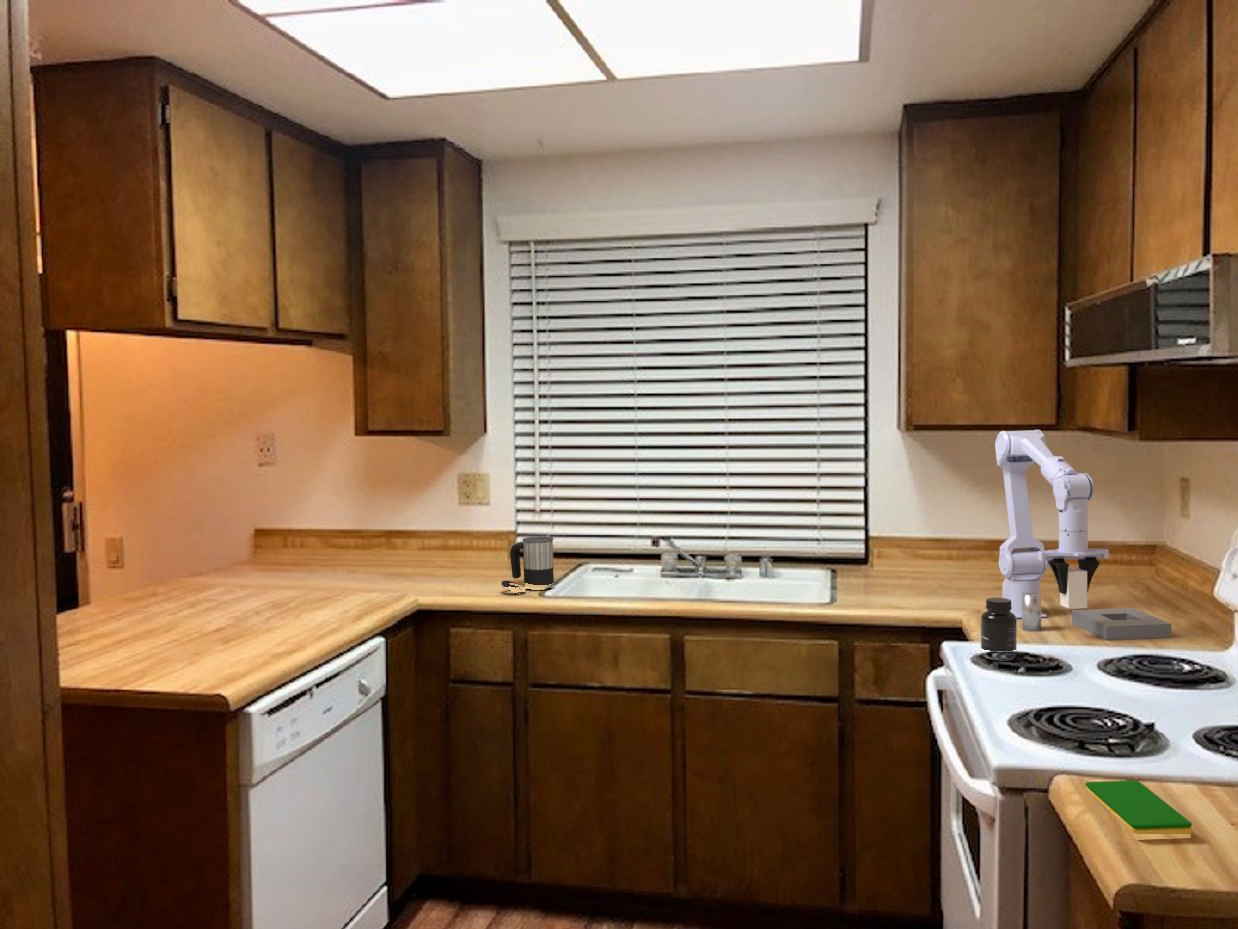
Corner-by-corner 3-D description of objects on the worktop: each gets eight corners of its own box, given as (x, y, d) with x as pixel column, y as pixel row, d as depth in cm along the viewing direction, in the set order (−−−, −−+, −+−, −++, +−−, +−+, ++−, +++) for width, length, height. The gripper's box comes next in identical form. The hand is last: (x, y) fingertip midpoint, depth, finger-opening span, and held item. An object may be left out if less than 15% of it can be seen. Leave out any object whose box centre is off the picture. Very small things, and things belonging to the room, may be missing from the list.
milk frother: (558, 585, 303) (556, 535, 302) (546, 596, 288) (544, 544, 286) (512, 585, 305) (510, 536, 304) (498, 596, 290) (495, 544, 289)
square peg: (1060, 604, 222) (1060, 568, 221) (1078, 604, 222) (1078, 567, 221) (1068, 608, 218) (1068, 571, 217) (1087, 608, 218) (1087, 571, 217)
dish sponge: (1137, 796, 138) (1137, 779, 138) (1193, 842, 124) (1193, 823, 124) (1084, 798, 138) (1084, 781, 138) (1134, 844, 124) (1134, 825, 124)
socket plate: (1071, 623, 233) (1071, 610, 233) (1132, 620, 234) (1132, 607, 233) (1106, 640, 217) (1106, 626, 217) (1171, 637, 218) (1171, 623, 217)
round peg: (1019, 627, 231) (1018, 592, 231) (1036, 626, 231) (1036, 592, 231) (1026, 631, 227) (1026, 596, 227) (1044, 631, 227) (1044, 595, 227)
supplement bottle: (974, 658, 207) (974, 600, 206) (990, 651, 212) (989, 594, 211) (1007, 664, 202) (1007, 604, 201) (1022, 657, 207) (1022, 598, 206)
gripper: (1047, 534, 215) (1048, 597, 216) (1116, 531, 215) (1116, 595, 216) (1033, 529, 222) (1034, 591, 223) (1099, 527, 222) (1100, 588, 223)
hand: (1073, 592), depth 220 cm, fingers closed on square peg, 4 cm apart
